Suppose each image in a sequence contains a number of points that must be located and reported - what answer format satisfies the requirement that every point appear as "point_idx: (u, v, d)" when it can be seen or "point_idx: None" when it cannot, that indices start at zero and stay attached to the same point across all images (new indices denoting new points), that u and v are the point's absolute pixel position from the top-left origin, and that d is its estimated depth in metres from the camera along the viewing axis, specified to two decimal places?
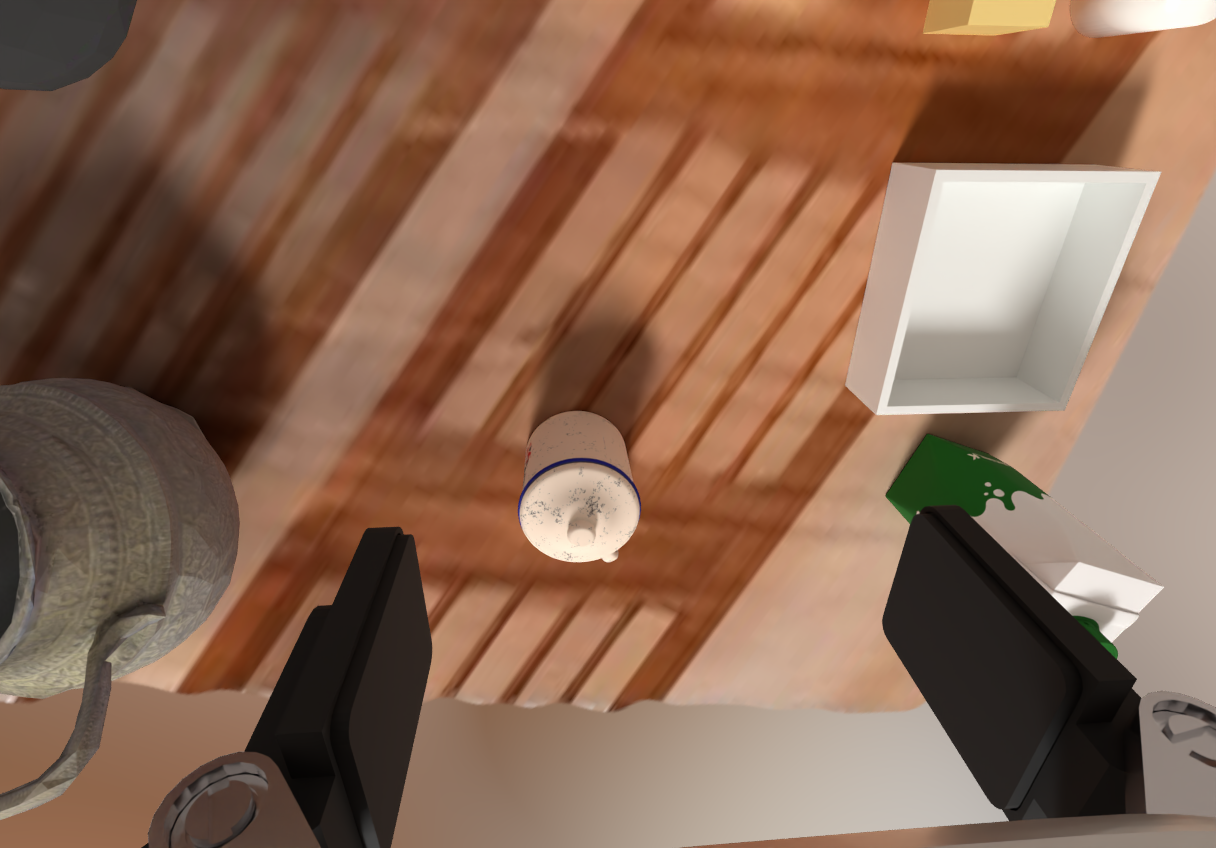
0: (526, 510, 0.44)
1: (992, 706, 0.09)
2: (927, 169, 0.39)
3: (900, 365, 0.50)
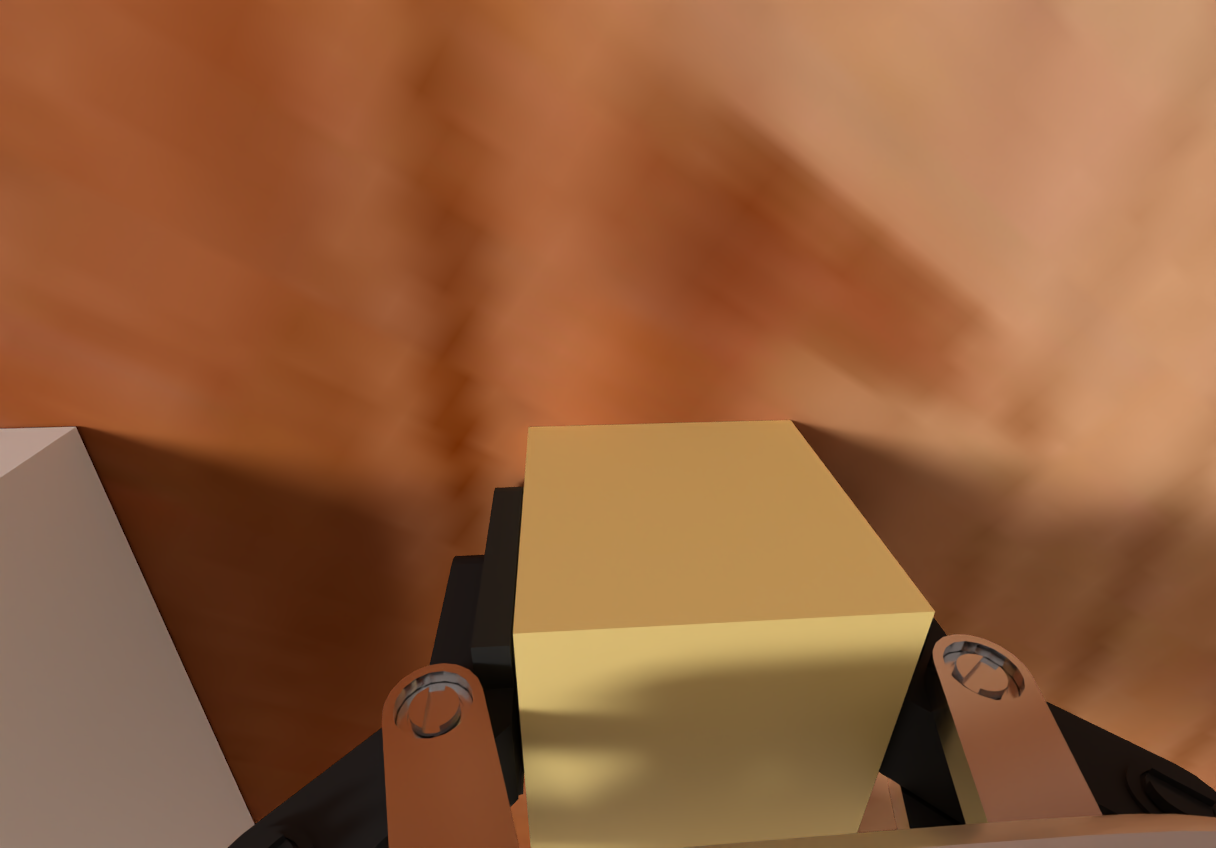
0: None
1: None
2: None
3: None
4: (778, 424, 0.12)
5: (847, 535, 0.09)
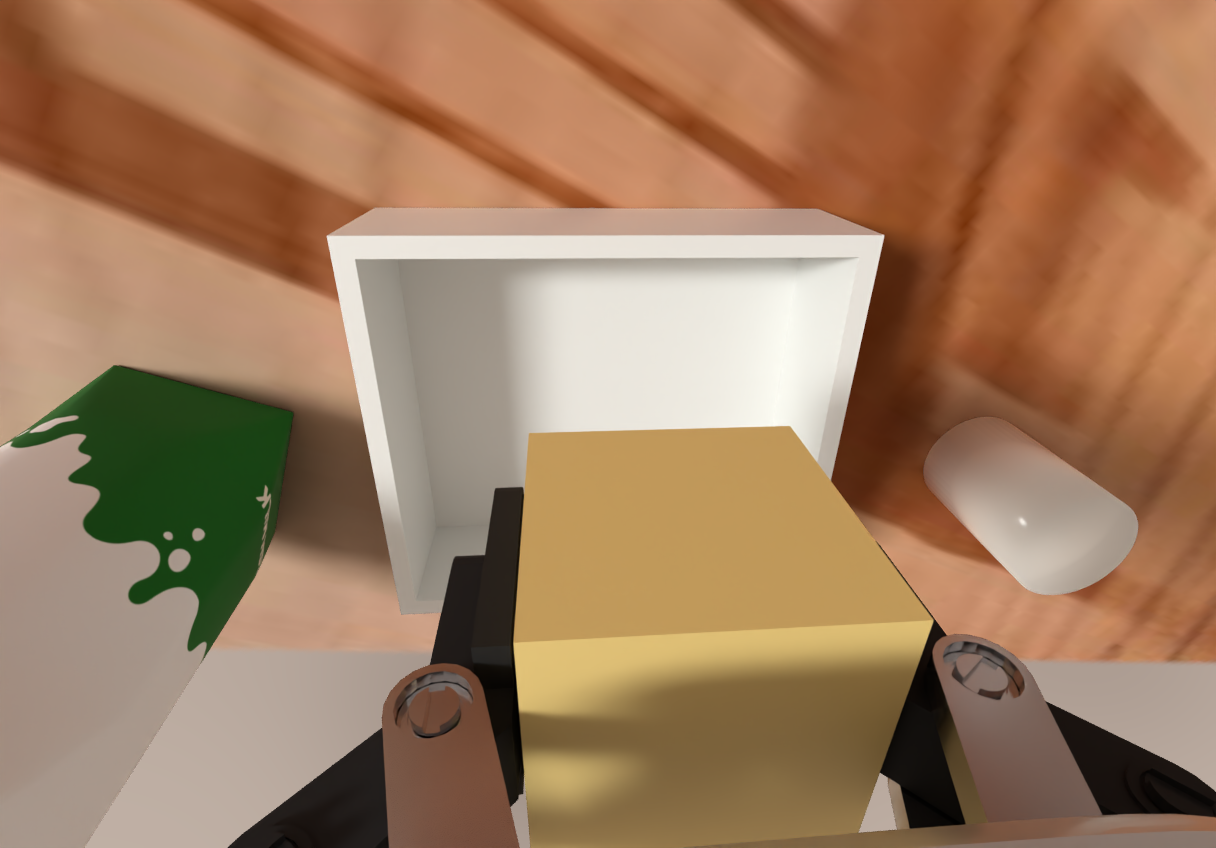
0: None
1: None
2: (867, 230, 0.20)
3: (437, 315, 0.25)
4: (778, 429, 0.12)
5: (846, 543, 0.09)
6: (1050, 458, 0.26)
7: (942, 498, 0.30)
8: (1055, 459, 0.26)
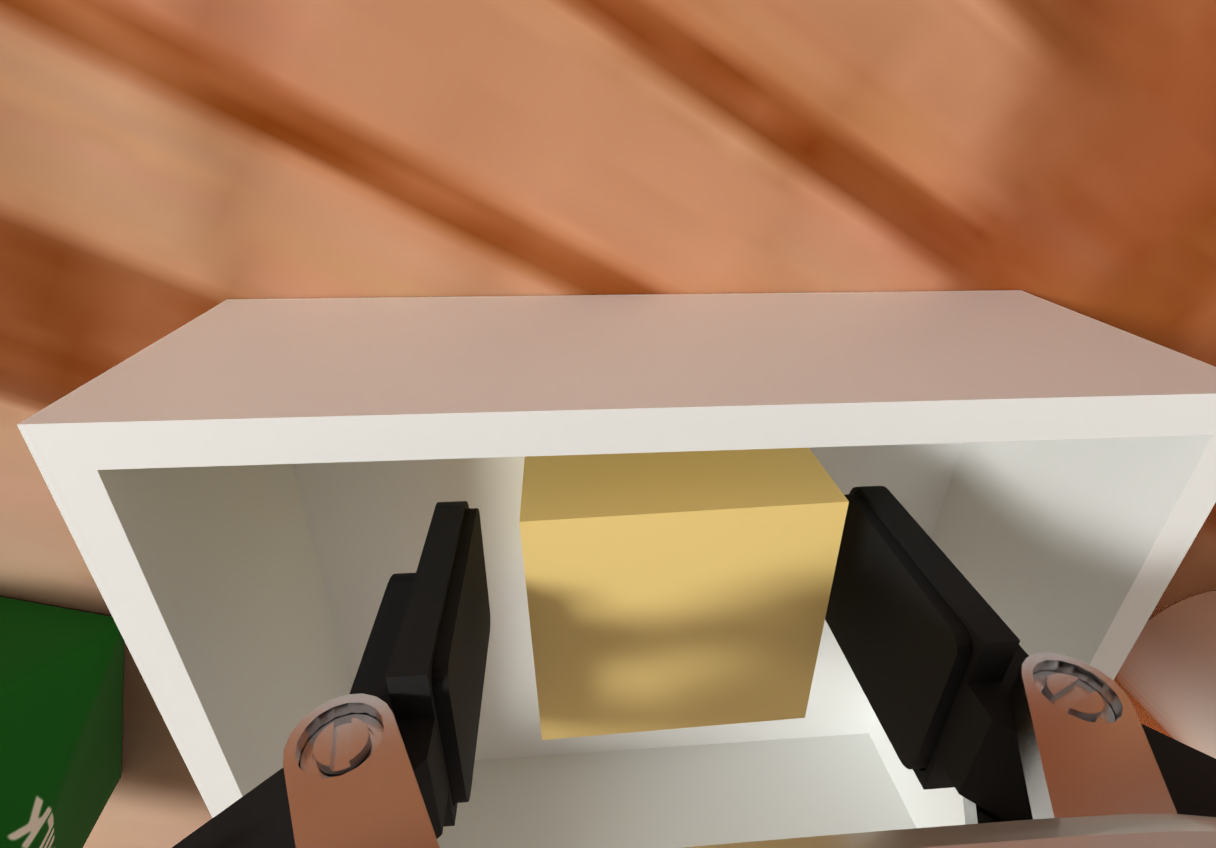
0: None
1: (903, 673, 0.10)
2: (1207, 366, 0.10)
3: (353, 478, 0.14)
4: None
5: (788, 453, 0.11)
6: None
7: (1158, 715, 0.19)
8: None
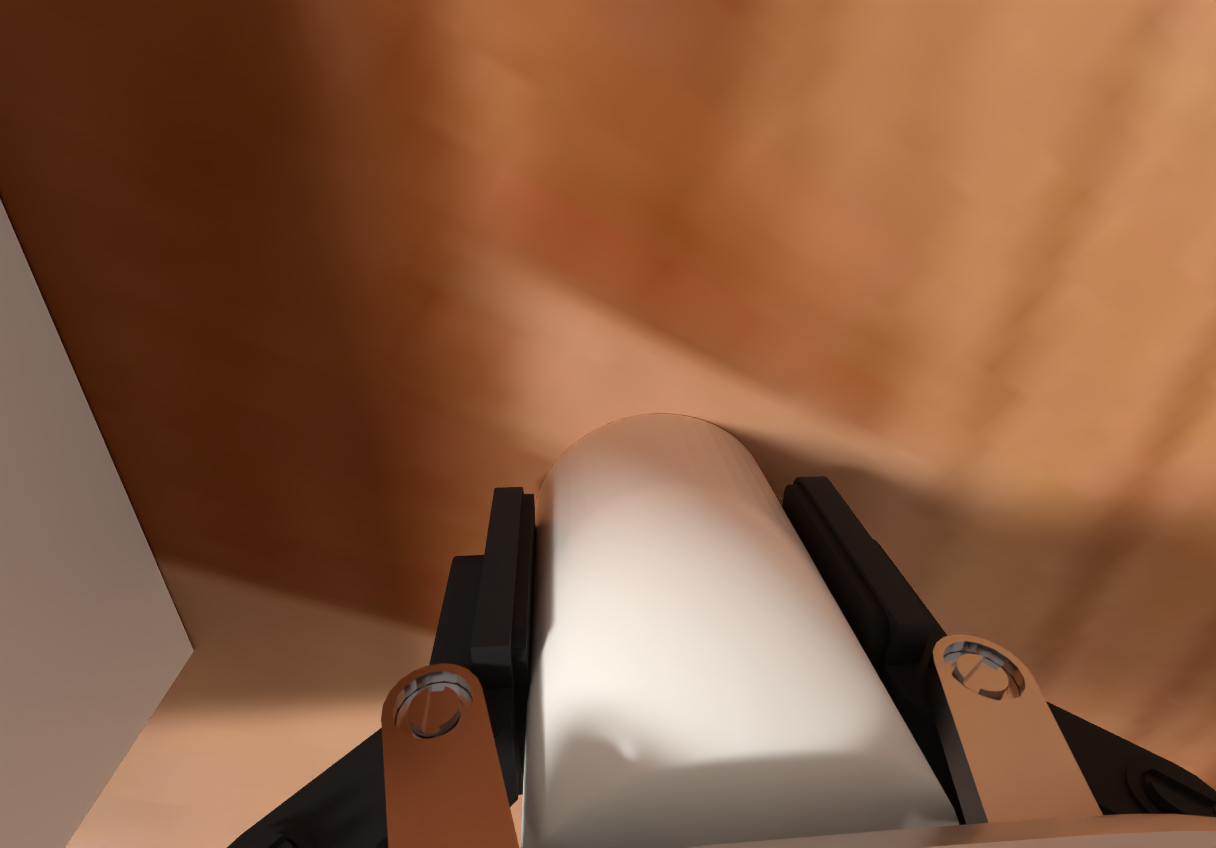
0: None
1: None
2: None
3: None
4: None
5: None
6: (721, 543, 0.08)
7: None
8: (737, 546, 0.08)
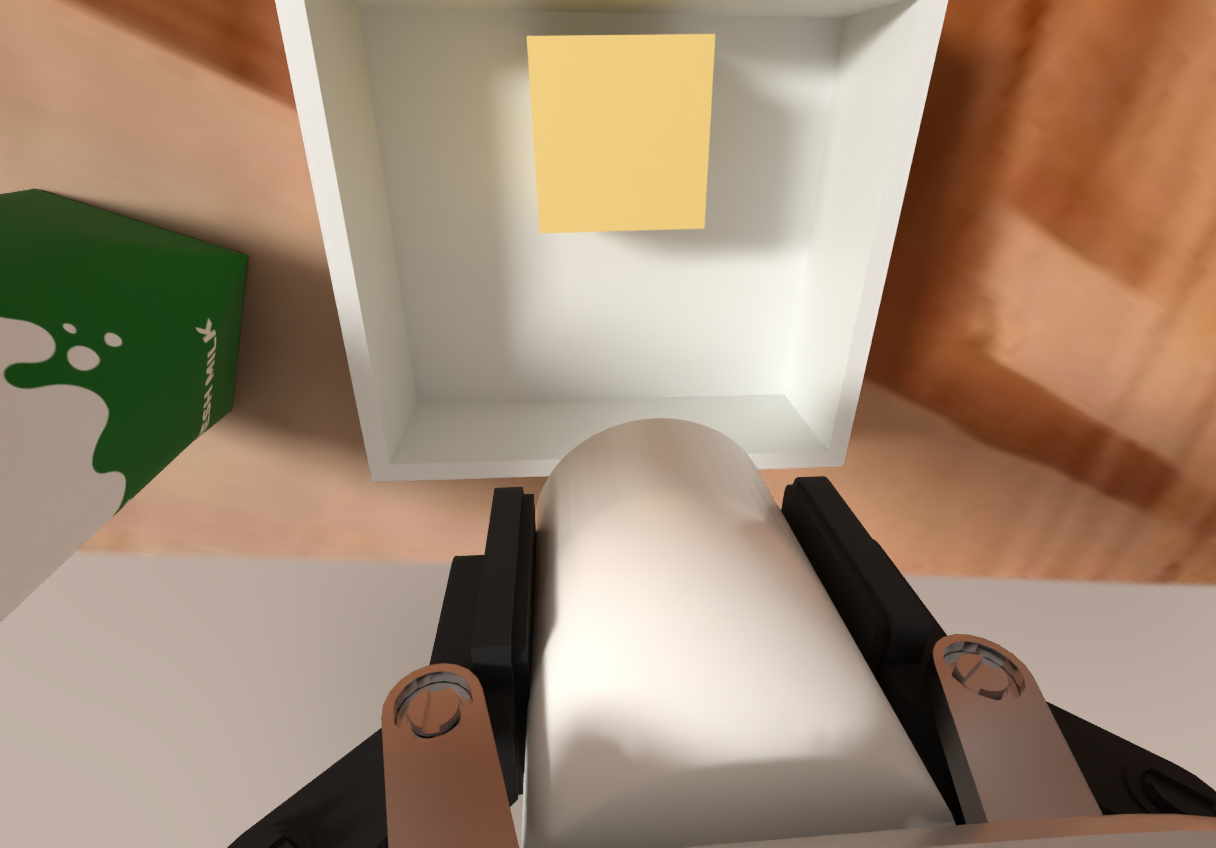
0: None
1: None
2: None
3: (413, 125, 0.21)
4: None
5: None
6: (720, 549, 0.08)
7: None
8: (736, 552, 0.08)
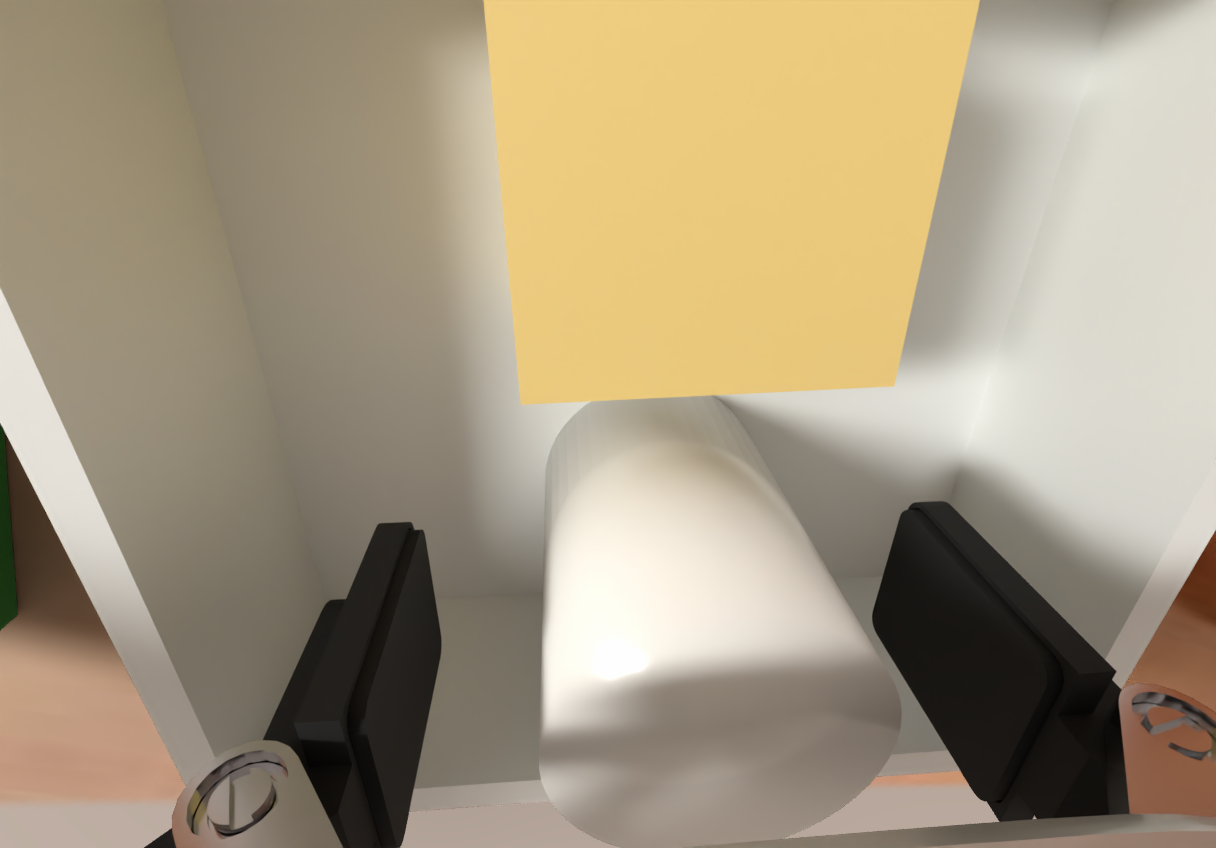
0: None
1: (977, 699, 0.09)
2: None
3: (277, 147, 0.11)
4: None
5: None
6: (708, 481, 0.10)
7: None
8: (722, 484, 0.10)
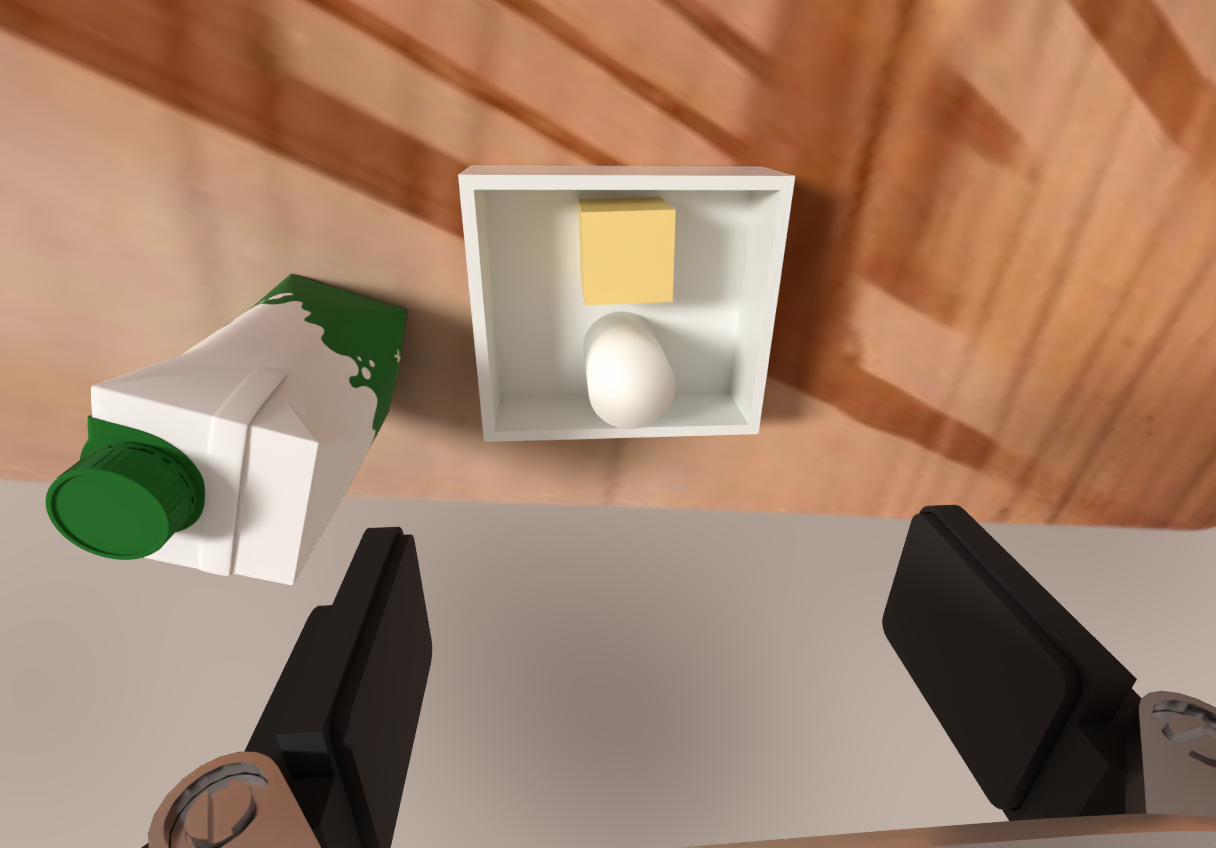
0: None
1: (992, 707, 0.09)
2: (787, 174, 0.33)
3: (509, 238, 0.37)
4: (656, 197, 0.36)
5: (663, 205, 0.33)
6: (632, 331, 0.36)
7: None
8: (636, 332, 0.36)
